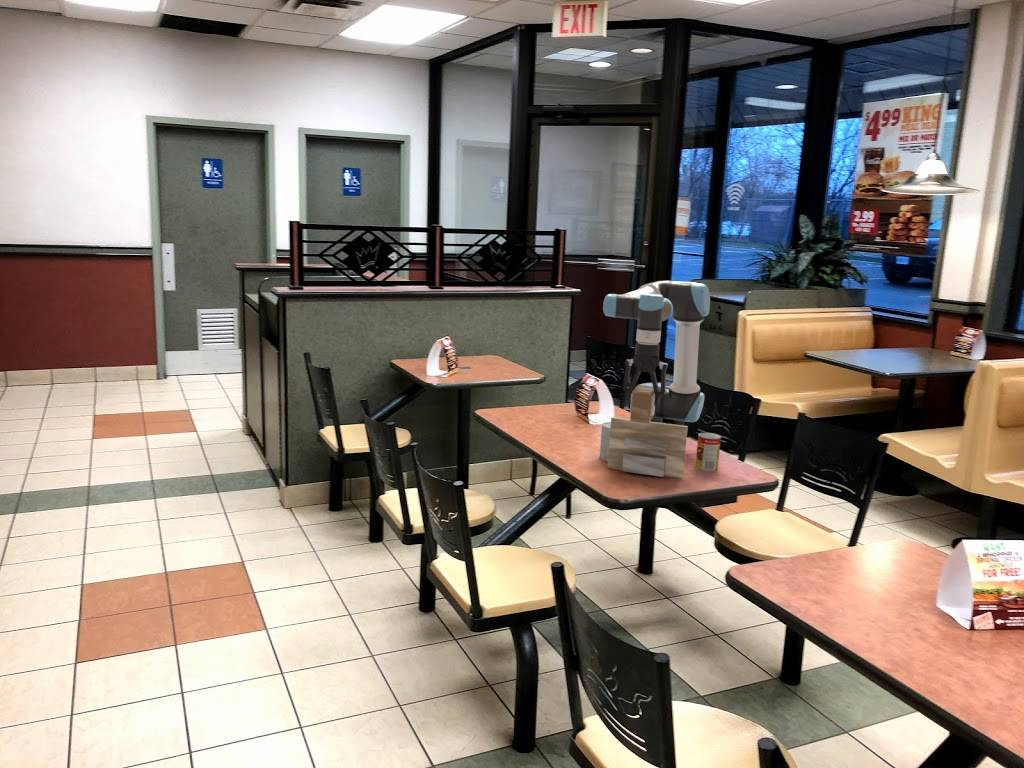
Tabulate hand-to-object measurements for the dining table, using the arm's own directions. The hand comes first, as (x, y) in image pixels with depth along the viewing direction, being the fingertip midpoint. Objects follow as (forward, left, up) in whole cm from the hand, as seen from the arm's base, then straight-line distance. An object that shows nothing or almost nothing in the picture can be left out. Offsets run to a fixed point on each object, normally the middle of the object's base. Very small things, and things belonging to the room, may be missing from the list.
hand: (642, 413), depth 267 cm
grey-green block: (-22, -22, -25) cm, 40 cm away
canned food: (-37, +8, -25) cm, 45 cm away
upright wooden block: (-1, -1, -2) cm, 2 cm away
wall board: (-13, -5, -24) cm, 28 cm away
